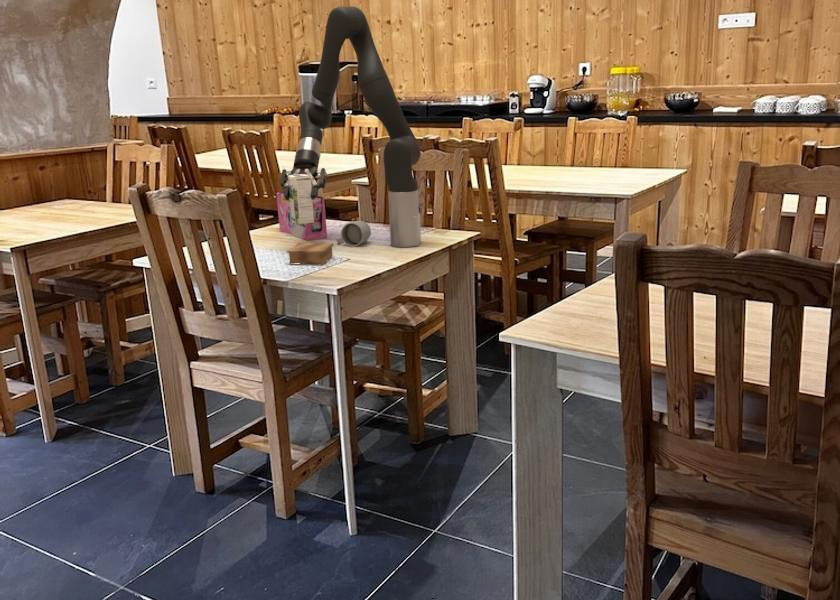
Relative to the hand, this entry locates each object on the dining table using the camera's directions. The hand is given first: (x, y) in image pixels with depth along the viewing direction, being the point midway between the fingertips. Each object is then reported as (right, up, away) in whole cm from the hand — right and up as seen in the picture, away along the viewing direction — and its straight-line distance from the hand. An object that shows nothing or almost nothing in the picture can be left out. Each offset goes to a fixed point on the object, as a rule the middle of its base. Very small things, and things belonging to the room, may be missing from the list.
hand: (299, 198), depth 237 cm
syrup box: (+1, -7, +4) cm, 8 cm away
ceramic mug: (+15, -13, +14) cm, 24 cm away
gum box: (-4, -8, +32) cm, 33 cm away
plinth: (+5, -19, -6) cm, 21 cm away
